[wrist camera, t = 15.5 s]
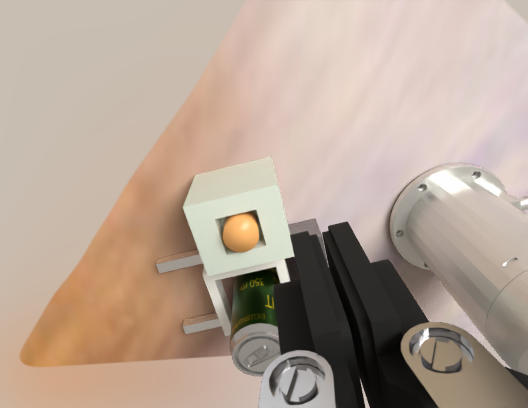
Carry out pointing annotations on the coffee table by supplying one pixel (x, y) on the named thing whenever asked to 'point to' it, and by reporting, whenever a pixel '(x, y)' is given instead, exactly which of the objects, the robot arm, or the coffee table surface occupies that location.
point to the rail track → (195, 259)
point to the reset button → (241, 231)
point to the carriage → (220, 296)
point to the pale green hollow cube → (234, 202)
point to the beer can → (254, 321)
